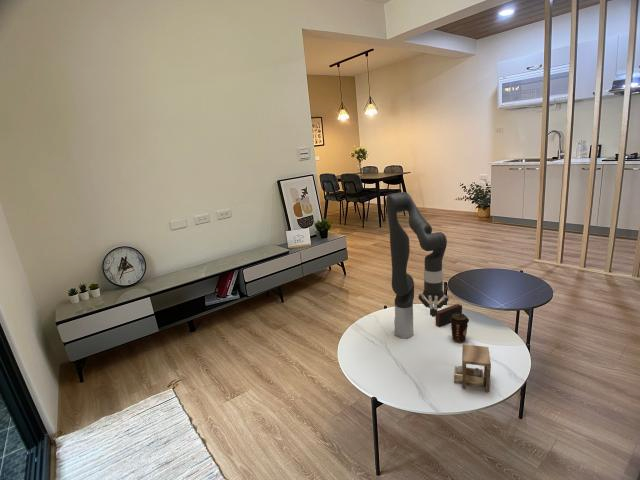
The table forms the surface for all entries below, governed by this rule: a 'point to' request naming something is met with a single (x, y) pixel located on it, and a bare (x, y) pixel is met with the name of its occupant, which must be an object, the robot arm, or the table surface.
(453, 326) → the coffee cup
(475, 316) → the table surface
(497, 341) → the table surface
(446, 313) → the radio
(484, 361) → the wooden stool
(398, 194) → the robot arm
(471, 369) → the tray
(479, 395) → the table surface
